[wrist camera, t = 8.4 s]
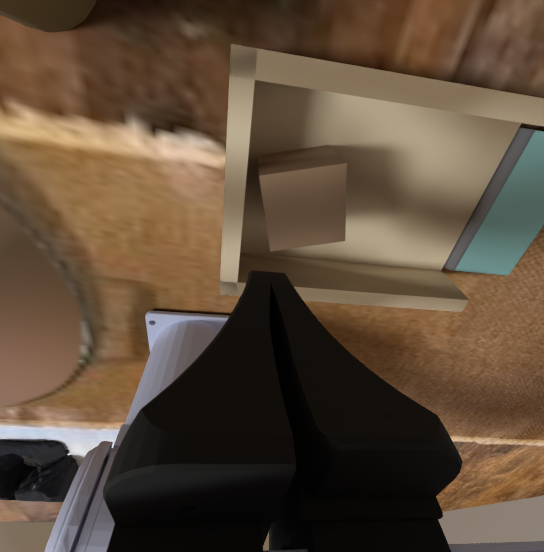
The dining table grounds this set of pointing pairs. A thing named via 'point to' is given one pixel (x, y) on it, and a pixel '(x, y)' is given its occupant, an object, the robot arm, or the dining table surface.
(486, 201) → the panel
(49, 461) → the dark slate chunk
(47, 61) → the dining table surface
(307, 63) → the crate
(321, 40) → the dining table surface
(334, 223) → the block
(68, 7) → the olive green pawn
